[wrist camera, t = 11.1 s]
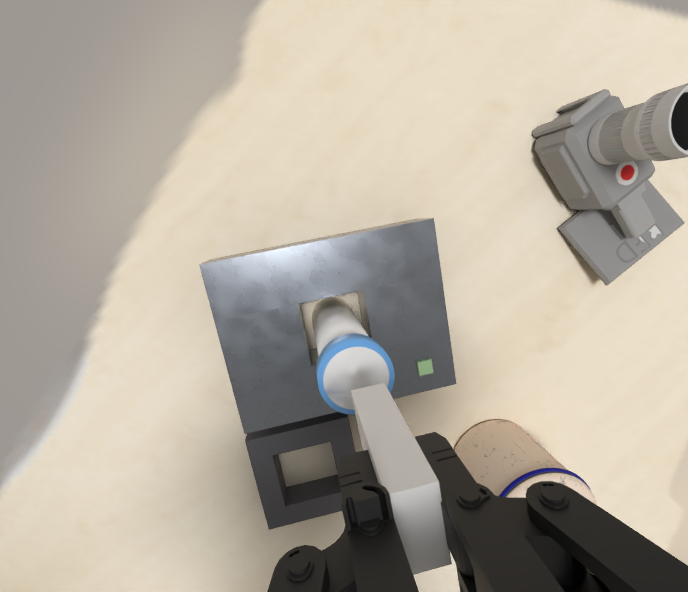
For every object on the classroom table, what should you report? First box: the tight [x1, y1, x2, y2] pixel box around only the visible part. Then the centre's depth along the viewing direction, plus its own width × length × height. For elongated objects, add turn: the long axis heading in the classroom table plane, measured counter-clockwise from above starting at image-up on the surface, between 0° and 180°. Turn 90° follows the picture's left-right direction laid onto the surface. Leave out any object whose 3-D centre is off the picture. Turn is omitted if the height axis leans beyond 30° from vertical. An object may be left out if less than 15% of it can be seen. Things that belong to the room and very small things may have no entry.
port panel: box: [200, 218, 456, 434], centre depth 32 cm, size 18×14×4 cm
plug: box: [312, 297, 395, 415], centre depth 28 cm, size 4×4×14 cm
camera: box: [532, 83, 688, 285], centre depth 30 cm, size 9×12×15 cm
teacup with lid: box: [454, 420, 596, 504], centre depth 34 cm, size 12×9×12 cm
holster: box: [245, 412, 355, 529], centre depth 36 cm, size 9×9×2 cm
